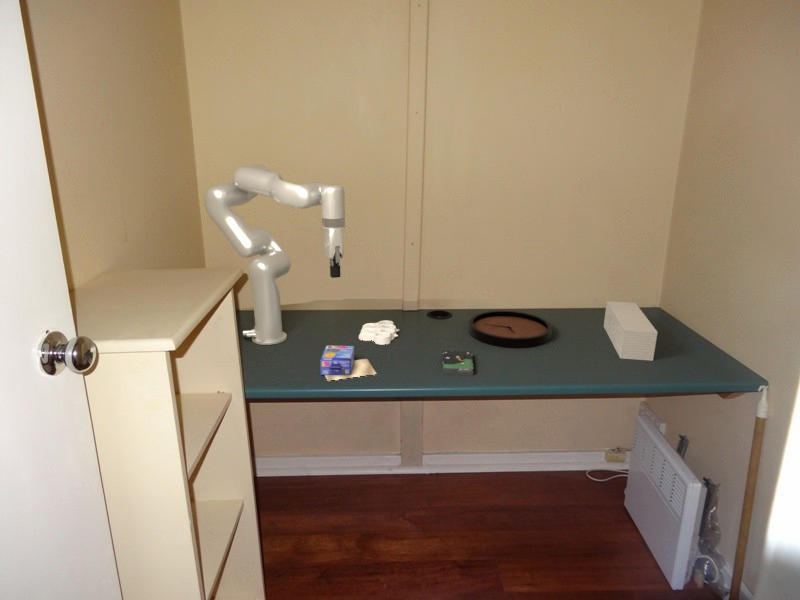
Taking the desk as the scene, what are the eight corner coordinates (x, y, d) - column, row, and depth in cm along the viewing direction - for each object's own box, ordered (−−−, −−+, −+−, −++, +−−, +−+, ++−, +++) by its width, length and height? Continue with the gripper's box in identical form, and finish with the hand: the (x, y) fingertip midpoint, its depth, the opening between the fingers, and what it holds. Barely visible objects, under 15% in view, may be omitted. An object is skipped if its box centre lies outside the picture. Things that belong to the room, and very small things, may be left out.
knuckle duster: (364, 327, 216) (400, 328, 215) (357, 344, 199) (397, 346, 198) (364, 319, 215) (401, 320, 214) (357, 336, 198) (397, 337, 197)
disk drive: (441, 357, 189) (441, 375, 175) (441, 349, 188) (442, 367, 174) (471, 358, 188) (474, 376, 174) (472, 351, 188) (474, 368, 173)
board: (327, 381, 169) (327, 380, 169) (320, 365, 181) (320, 364, 180) (376, 374, 174) (376, 374, 174) (367, 359, 185) (367, 358, 185)
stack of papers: (603, 326, 218) (606, 301, 215) (631, 328, 216) (635, 302, 213) (620, 358, 188) (624, 329, 184) (652, 361, 186) (657, 332, 183)
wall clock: (568, 325, 208) (518, 345, 188) (567, 335, 209) (517, 356, 189) (502, 305, 230) (452, 322, 210) (502, 314, 231) (451, 331, 212)
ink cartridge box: (354, 344, 182) (350, 364, 169) (354, 359, 184) (350, 379, 171) (325, 344, 183) (318, 363, 169) (325, 359, 184) (319, 379, 171)
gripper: (318, 219, 184) (320, 272, 190) (326, 227, 171) (328, 283, 176) (340, 218, 186) (341, 270, 192) (349, 226, 173) (351, 281, 178)
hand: (335, 276), depth 184 cm, fingers closed
